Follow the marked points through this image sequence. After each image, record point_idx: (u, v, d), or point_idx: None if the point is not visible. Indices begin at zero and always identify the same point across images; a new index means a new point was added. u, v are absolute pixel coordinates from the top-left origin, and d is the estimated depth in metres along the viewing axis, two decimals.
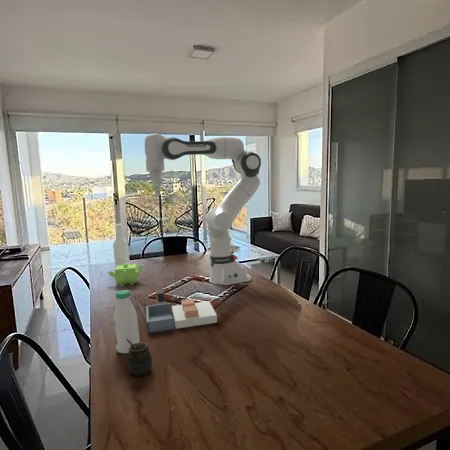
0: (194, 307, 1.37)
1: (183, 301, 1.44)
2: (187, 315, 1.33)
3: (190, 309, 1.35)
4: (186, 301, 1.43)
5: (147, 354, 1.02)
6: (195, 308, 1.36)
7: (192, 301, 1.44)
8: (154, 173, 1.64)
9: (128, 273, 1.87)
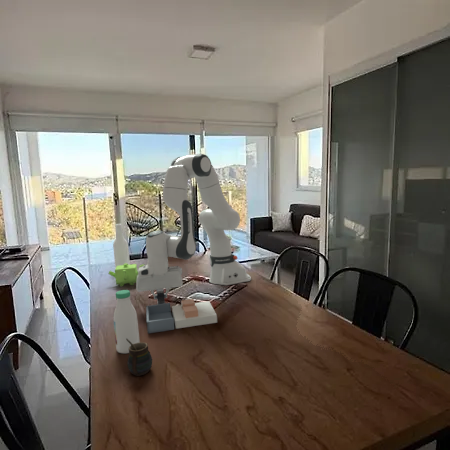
0: (194, 307, 1.37)
1: (183, 301, 1.44)
2: (187, 315, 1.33)
3: (190, 309, 1.35)
4: (186, 301, 1.43)
5: (147, 354, 1.02)
6: (195, 308, 1.36)
7: (192, 301, 1.44)
8: (180, 272, 1.55)
9: (128, 273, 1.87)
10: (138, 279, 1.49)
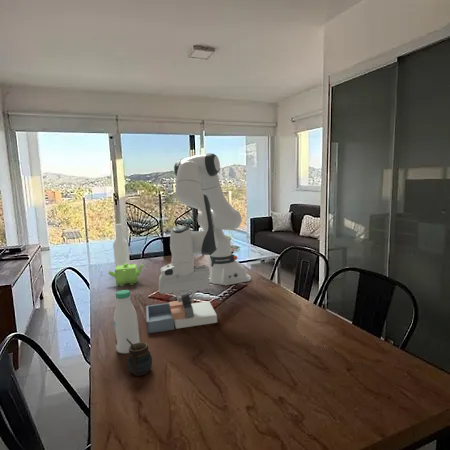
0: (181, 309, 1.36)
1: (171, 303, 1.43)
2: (174, 317, 1.32)
3: (177, 311, 1.34)
4: (174, 303, 1.42)
5: (147, 354, 1.02)
6: (182, 310, 1.35)
7: (180, 302, 1.43)
8: (207, 272, 1.39)
9: (128, 273, 1.87)
10: (161, 280, 1.33)
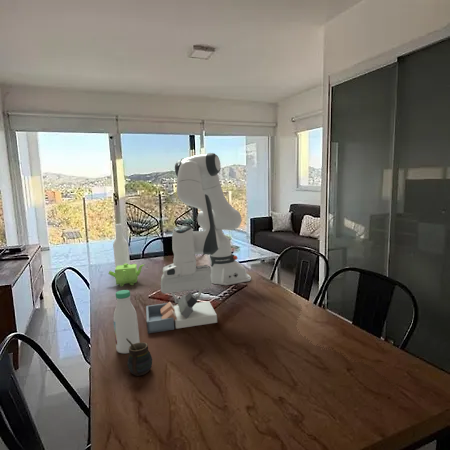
0: (170, 312, 1.35)
1: (161, 309, 1.43)
2: None
3: (166, 316, 1.33)
4: (164, 308, 1.42)
5: (147, 354, 1.02)
6: (171, 312, 1.33)
7: (169, 305, 1.42)
8: (209, 272, 1.39)
9: (128, 273, 1.87)
10: (163, 280, 1.34)
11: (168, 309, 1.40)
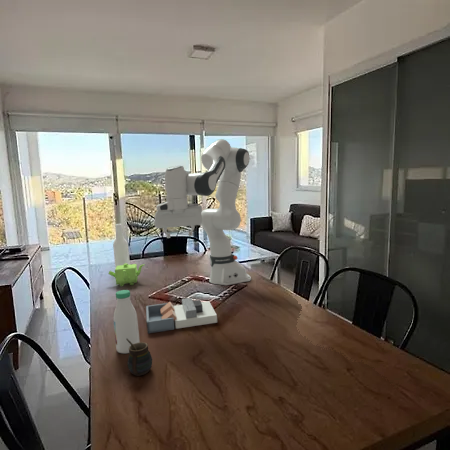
0: (170, 312, 1.35)
1: (161, 309, 1.43)
2: None
3: (166, 316, 1.33)
4: (164, 308, 1.42)
5: (147, 354, 1.02)
6: (171, 312, 1.33)
7: (169, 305, 1.42)
8: (199, 210, 1.49)
9: (128, 273, 1.87)
10: (157, 215, 1.44)
11: (168, 309, 1.40)
